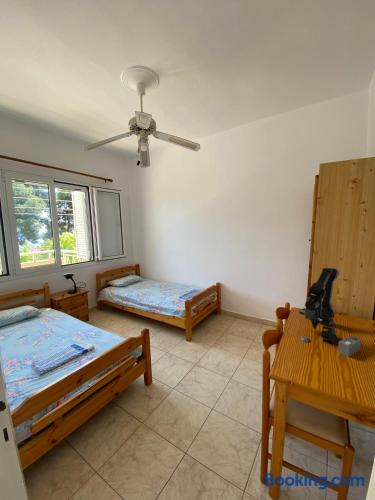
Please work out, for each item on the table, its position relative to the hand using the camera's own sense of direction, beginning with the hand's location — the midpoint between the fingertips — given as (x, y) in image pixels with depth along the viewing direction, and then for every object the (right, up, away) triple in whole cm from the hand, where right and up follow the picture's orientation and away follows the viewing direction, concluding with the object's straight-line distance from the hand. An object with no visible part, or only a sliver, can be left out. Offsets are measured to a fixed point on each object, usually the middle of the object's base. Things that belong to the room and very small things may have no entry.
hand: (314, 328), depth 130 cm
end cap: (+5, -5, -6) cm, 9 cm away
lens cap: (-9, -5, -5) cm, 12 cm away
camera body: (+9, -6, -16) cm, 20 cm away
